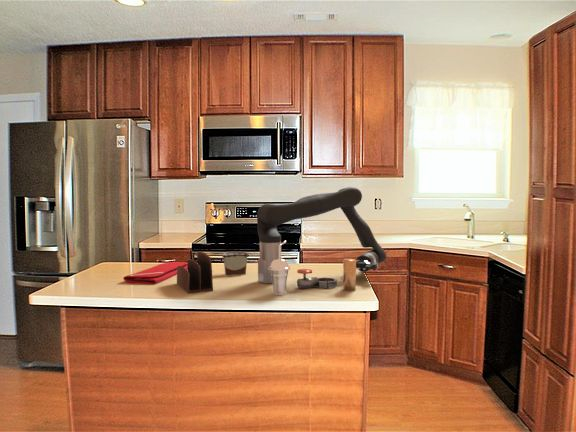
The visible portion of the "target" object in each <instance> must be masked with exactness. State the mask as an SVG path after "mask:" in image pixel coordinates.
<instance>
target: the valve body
mask: <svg viewBox="0 0 576 432" xmlns="http://www.w3.org/2000/svg"><path fill="white" fill-rule="evenodd" d="M296 271H297V274H302V275H303V278H298V279H297V280H296V287H297V289H299V290H300V289H311V288H320V289H335V288H337V287H338V279H337V278H333V277H327V276H326V277H317V276H315V277H314V276H313V277H307V274H312V273H313V269H309V268H301V269H297V270H296Z"/></svg>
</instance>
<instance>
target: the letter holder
mask: <svg viewBox="0 0 576 432" xmlns="http://www.w3.org/2000/svg"><path fill="white" fill-rule="evenodd" d="M196 255H197V257H196V258H197V260H195V259H192V258H188V259H187V261H186V263H187V270H186V269H185V268H184V267H182V266H177V275H176V284H177V285H178V286H179V287H180V288H182V289H183V290H184V291H185V292H186V293H187V294H195V293H196V294H197V293H207V292H213V291H214V284H213V266H212V264H213V263H212V258H211V256H210V255H208V254H207V253H204V252H202V251H197V253H196Z"/></svg>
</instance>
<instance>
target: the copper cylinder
mask: <svg viewBox="0 0 576 432" xmlns="http://www.w3.org/2000/svg"><path fill="white" fill-rule="evenodd" d="M342 260H343V263H342V265H343V266H342V267H343V269H342V270H343V271H342V272H343V276H342V281H343V282H342V288H343V291H346V292H347V291H348V292H353V291H357V287H356V285H357V279H356V278H357V269H356V259H355V258H344V259H342Z"/></svg>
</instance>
